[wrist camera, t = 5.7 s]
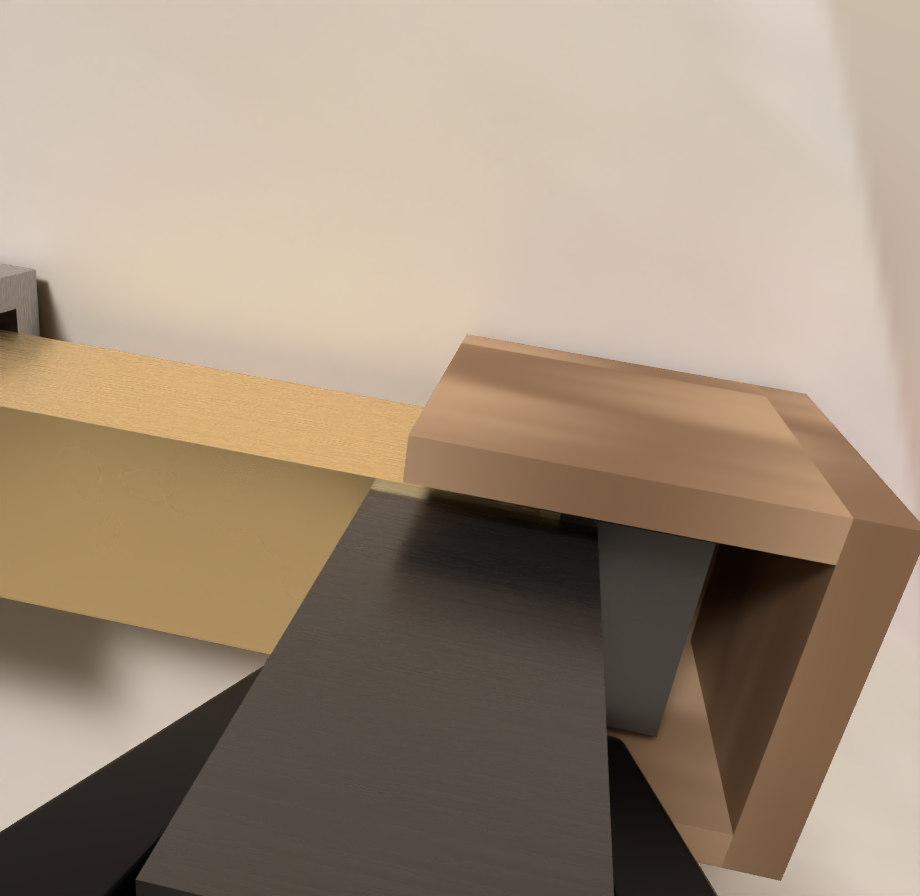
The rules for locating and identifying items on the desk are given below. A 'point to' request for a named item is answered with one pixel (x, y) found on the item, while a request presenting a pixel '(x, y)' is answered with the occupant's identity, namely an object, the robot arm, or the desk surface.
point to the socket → (730, 570)
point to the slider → (344, 626)
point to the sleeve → (18, 300)
